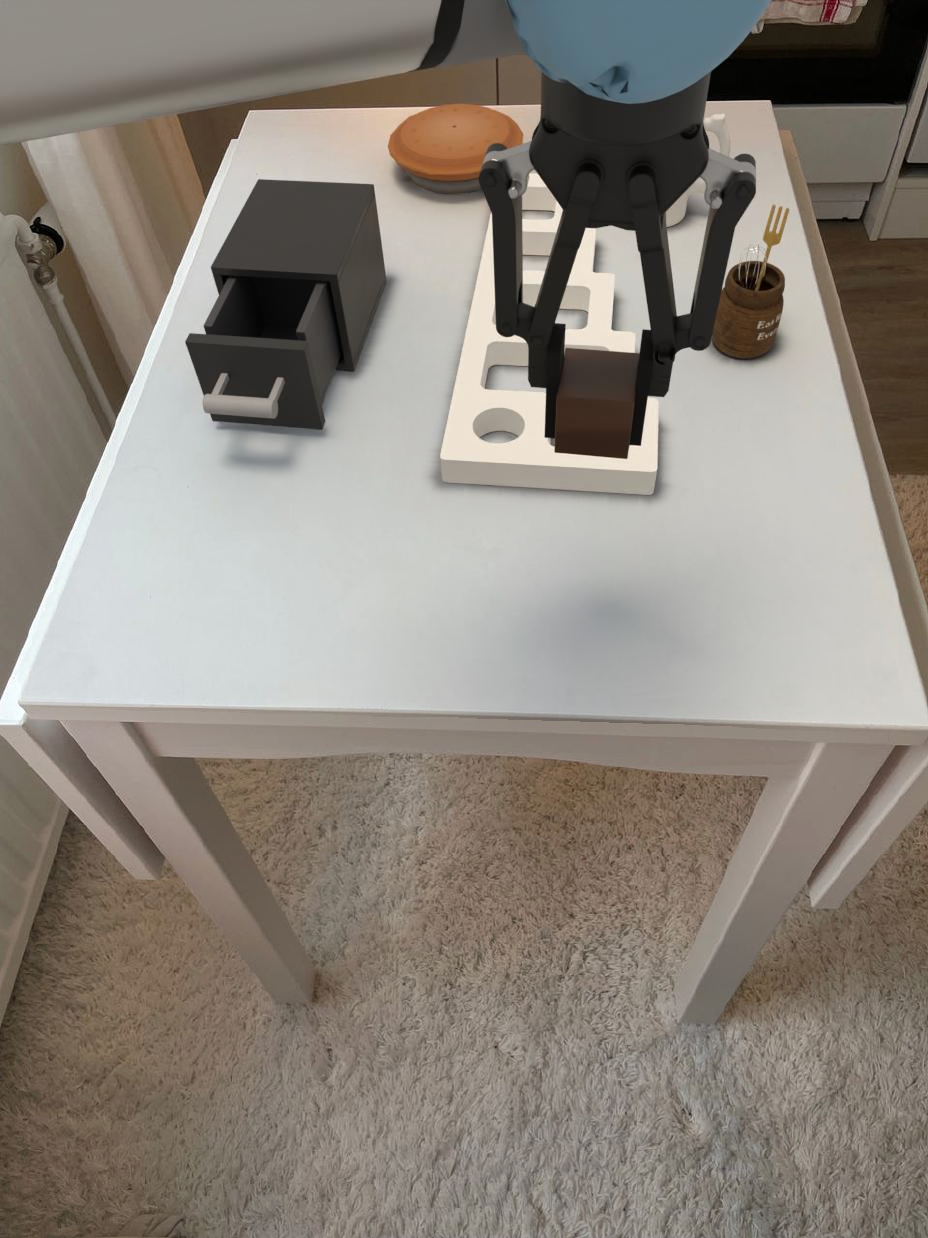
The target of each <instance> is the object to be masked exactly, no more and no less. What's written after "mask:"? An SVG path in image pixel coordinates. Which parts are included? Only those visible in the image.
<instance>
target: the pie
mask: <svg viewBox="0 0 928 1238" xmlns="http://www.w3.org/2000/svg"><path fill="white" fill-rule="evenodd" d="M493 143H501V144H503V145H505V146H506V147H507V149H509V148H512V147H515V146H518V145H521V144H524V132H523V130H522V129H521V128H520V125H519V124H518V123H517V122H516V121H515V120H514V119H512V117H510V115H507V114H505V113H503V112H500V111H499V110H496V109H493V108H490V107H487V106H484V105H483V106H482V105H478V104H471V103H451V104H450V103H449V104H443V105H437V106H433V107H429V108H427V109H424V110H422V111H419V112H417V113H414V114H412V115H409V116H408V117H407V118H406V119H404V120H403V121H402V122H401V123H399V125H398V126H397V127H396V128H395V129H394V130H393V131H392V133H391V134H390V135H389V139H388V144H387V148H388V153H389V156H390V157H391V158H392V159H393V160H394V161H395V162H396V164H398V165H399V166H400V167H401V168H402V169H404V170H405V172H406V174H407V175H408V176H409V177H410V178H411V180H412V181H413V182H414V183H415V184H416V185H417V186H419V187H421V188H423V189H425V190H427V191H430V192H433V193H437V194H445V195H446V194H447V195H460V194H469V193H473V192H477V191H480V190H481V191H482V189H481V186H480V184H479V174H480V171H481V167H482V164H483V161H484V158H485V155H486V151H487V149H488V147H489V146H490V145H492V144H493Z"/></svg>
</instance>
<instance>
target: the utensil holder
mask: <svg viewBox="0 0 928 1238" xmlns="http://www.w3.org/2000/svg"><path fill="white" fill-rule="evenodd" d="M783 209H784V207H783V206H782V205H780V206H779V207H778V209H777V213H776V216H775V220H774V222H773V218H774V214H775V212H776V211H775V210H776V204H772V206H771V208H770V212H769V216H768V219H767V222H766V226H765V229H764V232H763V236H762V241H763V242H764V243H765V244H766V245H767V246H766V248H764V247H763V246H762V247H761V246H760V245H759V244H757V245H755V246H752V244H750V245H749V246H748V247H746V248H744V249H743V250H742V251H741V253H740V257H739V260H740V261H739V263H736V264H735V265H733V266H732V267H731V268H730V270H729V271H728V273H727V274H726V276H725V279H724V287H722V291H721V296H720V301H719V306H718V310H717V315H716V320H715V324H714V329H713V334H712V338H711V340H712V342H713V345H714V346H715V347H716V349H718V350H719V352H721V353H723V354H725V355H727V356H728V357H733V358H735V359H753V358H758V357H760V356H763V355H765V354H767V352H768V351H770V349H771V348H772V347H773V345H774V343H775V340H776V338H777V334H778V330H779V326H780V323H781V319H782V315H783V309H784V305H785V304H784V302H785V301H784V300H785V299H784V292H785V288H786V277H785V274H784V272H783V271H782V270H781V269H780V268H779V267H778V266H776V265H774V264H771V263H770V262H768V261H769V257H770V254H771V250H772V247H773V246H777V245H779V243H781V240H782V236H783V234H784V230H785V227H786V223H787V219H788V216H789V213H790V208H789V207H786V208H785V211H784V213H783V217H782V220H781V224H780V227H779V231H778V232H777V229H778V225H779V222H780V219H781V215H782V211H783ZM772 222H773V227H772V230H770V229H771V225H772ZM761 249H763V250H764V251H765V253H764V251H763V250H761ZM745 250H747V252H746V253H745V254H744V255H743V252H744V251H745ZM752 250H753V251H752ZM751 251H752V253H751V256H750V258H749V260H748V258H745V256H746V257H748V256H749V255H748V254H749V252H751ZM755 251H756V254H757V256H756V259H757V260H752V257H753V254H754V252H755ZM759 252H761V253H762V254H763V255H764V258H763V261H761V260H760V256H759ZM742 255H743V256H742ZM744 258H745V259H746V260H745V261H742V260H743V259H744Z"/></svg>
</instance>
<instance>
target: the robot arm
mask: <svg viewBox="0 0 928 1238" xmlns="http://www.w3.org/2000/svg"><path fill="white" fill-rule="evenodd" d="M771 3H772V0H0V147H2V146H8V145H13V144H19V143H23V142H30V141H35V140H41V139H46V138H47V139H48V138H51V137H58V136H63V135H69V134H75V133H80V132H85V131H86V132H87V131H91V130H97V129H103V128H108V127H114V126H118V125H125V124H130V123H135V122H140V121H141V122H142V121H147V120H151V119H158V118H163V117H168V116H173V115H180V114H184V113H190V112H195V111H202V110H207V109H214V108H219V107H224V106H230V105H234V104H241V103H245V102H252V101H256V100H264V99H268V98H273V97H274V98H275V97H279V96H284V95H290V94H296V93H301V92H306V91H312V90H319V89H323V88H329V87H335V86H339V85H345V84H352V83H355V82H356V83H357V82H362V81H367V80H374V79H378V78H383V77H389V76H395V75H400V74H401V75H402V74H407V73H412V72H417V71H422V70H428V69H429V70H430V69H437V68H445V67H453V66H458V65H459V66H460V65H465V64H471V63H477V62H484V61H489V60H495V59H500V58H506V57H513V56H528V58H529V59H530V60H532V61H533V63H534V65H535V66H536V68H537V69H538V70H539V71H540V72H541V73H540V75H541V77H540V118H539V121H538V124H537V125H536V127H535V129H534V130H533V133H532V136H531V140H530V141H527V142H523V143H522V144H521V145H518V146H515V147H512V148H509V149H507V147H506V146H505V145H503V144H501V143H493V144H492V145H490V146H489V147H488V149H487V151H486V155H485V158H484V161H483V164H482V167H481V171H480V174H479V184H480V186H481V191H482V194H483V195H484V198H485V201H486V203H487V205H488V207H489V208H488V209H489V210H490V214H491V213H492V231H493V259H494V287H495V315H496V330H497V332H498V333H499V334H500V335H501V336H503V337H512V336H514V335H516V336H519V337H521V338H523V339H524V340H525V341H526V342H527V344H528V366H527V370H528V371H527V381H528V383H529V385H530V387H531V388H537V389H545V393H546V407H545V438H551V439H554V440H555V424H556V400H557V392H558V386H559V382H560V377H561V371H562V365H563V360H564V348H565V329H567V328H566V327H567V325H566V323H558V322H556V320H557V317H558V315H559V311H560V309H559V308H560V305H561V302H562V299H563V296H564V292H565V289H566V286H567V283H568V280H569V277H570V274H571V270H572V267H573V264H574V261H575V258H576V255H577V251H578V249H579V247H580V244H581V241H582V238H583V235H584V232H585V229H586V228H596V229H600V228H605V227H611V226H612V227H614V228H618V229H622V230H625V231H634V232H635V239H636V247H637V251H638V253H639V257H640V264H641V270H642V278H643V285H644V293H645V299H646V305H647V306H646V307H647V313H648V321H649V327H650V329H644V328H642V329H641V337H640V346H639V352H638V353H639V361H638V370H637V380H636V390H635V392H636V395H635V404H634V412H633V420H632V428H631V436H630V443H629V445H635V446H641V441H642V434H643V427H644V420H645V413H646V406H647V399H648V398H649V397H653V398H664V397H666V396H667V394H668V392H669V390H670V384H671V378H672V372H673V365H674V362H675V361H676V360H675V359H676V354H677V353H678V352H680V351H681V350H684V349H688V348H690V349H691V350H693V351H697V352H701V351H704V350H706V349H708V348H709V347H710V345H711V342H712V334H713V329H714V324H715V320H716V315H717V310H718V306H719V301H720V296H721V291H722V289H723V288H724V287H723V286H724V283H725V278H726V272H727V268H728V263H729V258H730V253H731V249H732V246H733V245H732V244H733V240H734V236H735V230H736V227H737V225H738V223H739V222H740V220H741V218H742V217H743V216H744V214H745V212H746V211H747V209H748V208H749V206H750V205H751V203H752V201H753V200H754V198H755V197H756V193H757V165H756V164H757V162H756V161H757V160H756V159H755V157H754V156H753V155H751V154H749V153H740V154H738V155H736V156H735V157H734V158H733V157H731V156H729V157H728V156H726V155H723V154H721V153H720V151H716V150H714V149H712V148H710V140H709V136H708V133H707V131H705V128H704V124H703V120H704V116H705V115H706V114H705V113H706V107H707V100H708V93H709V88H710V87H709V86H710V80H711V75H712V74H711V73H712V71H713V70H715V69H716V68H717V67H719V65H720V64H722V63H724V61H725V60H727V59H728V58H729V57H730V56H731V55H732V54H733V52H734V51H736V49H738V47H739V46H740V45H741V44H742V43H743V42H744V40H745V39H746V38H747V37H748V35H749V34H750V33H751V32H752V30H753V29H754V28H755V27H756V25H757V24H758V23H759V21H760V19H761V18H762V16H763V15H764V13H765V12H766V10H767V9H768V7H769V6H770V5H771ZM534 170H535V172H536V174H538V175H539V176H540V178H541V179H542V181H543V182H544V183H545V185H546V186H547V188H548V189H549V191H550V192H551V193H552V195H553V196H554V198H555V199H556V201H557V202H558V203H559V205H560V206H561V208H562V209H563V211H562V215H561V219H560V222H559V226H558V229H557V232H556V236H555V239H554V243H553V246H552V250H551V253H550V256H548V260H547V264H546V267H545V270H544V271H545V274H544V277H543V280H542V284H541V287H540V291H539V294H538V298H537V301H536V304H535V307H533V306H530V305H528V304H525V303H523V270H524V265H523V264H524V263H523V262H524V261H523V259H524V258H523V245H522V219H523V210H522V195H523V194H524V193H525V191H526V189H527V185H528V181H529V173H531V172H532V171H534ZM699 177H700V178H702V179H703V180H704V181H705V192H704V193H703V195H704V196H703V197H704V201H705V203H706V204H707V205H708V206H709V209H708V214H707V219H706V224H705V230H704V235H703V241H702V248H701V252H700V257H699V263H698V267H697V274H696V279H695V284H694V289H693V296H692V301H691V305H690V311H689V313H685V314H681V315H678V313H677V303H676V296H675V288H674V279H673V270H672V261H671V260H672V259H671V253H670V243H669V234H668V227H667V225H666V211H667V210H668V209H669V208H670V207H671V206H672V205H673V204H674V203H675V202H676V201H677V200H678V199H679V198H680V197H681V196H682V195H683V194H684V193H685V192H686V190H687V189H688V188H689V187H690V186H691V185H692V184H693V183H694V182H695V181H696V180H697V179H698V178H699Z"/></svg>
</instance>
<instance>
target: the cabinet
mask: <svg viewBox="0 0 928 1238" xmlns="http://www.w3.org/2000/svg"><path fill="white" fill-rule="evenodd" d="M376 197H377V196H376V191H375V184H374V183H353V182H335V181H334V182H332V181H330V182H329V181H310V180H309V181H308V180H287V179H262V178H261V179H260V178H258V179H257V181H256V183H255V184H254V186H253V188H252V189H251V192H250V193H249V195H248V197H247V199H246V201H245V203H244V205H243V206H242V208H241V210H240V212H239V214H238V216H237V217H236V220H235V221H234V222H233V225H232V226H231V228H230V230H229V232H228V234H227V236H226V238H225V240H224V242H223V243H222V245H221V247H220V249H219V250H218V253H217V255H216V257H214V260H213V262H212V264H211V266H210V270H211V273H212V276H213V281H214V284H215V287H216V290H217V294H218V296H219V295H220V293H221V291H222V289H223V287H224V285H225V283H226V281H227V279H228V277H229V276H246V277H263V278H281V279H298V280H315V281H330V285H331V291H332V296H333V301H334V307H335V312H336V317H337V323H338V328H339V333H340V339H341V344H342V349H343V351H342V354H341V357H340V359H339V362H338V365H337V367H336V370H335V371H341V372H355V370H356V367H357V365H358V362H359V359H360V356H361V353H362V351H363V349H364V345H365V342H366V340H367V337H368V334H369V331H370V328H371V325H372V324H373V323H372V322H373V320H374V317H375V314H376V311H377V308H378V306H379V303H380V300H381V298H382V294H383V292H384V289H385V286H386V284H387V275H386V266H385V259H384V251H383V243H382V236H381V235H382V234H381V227H380V221H379V213H378V206H377V199H376Z"/></svg>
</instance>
